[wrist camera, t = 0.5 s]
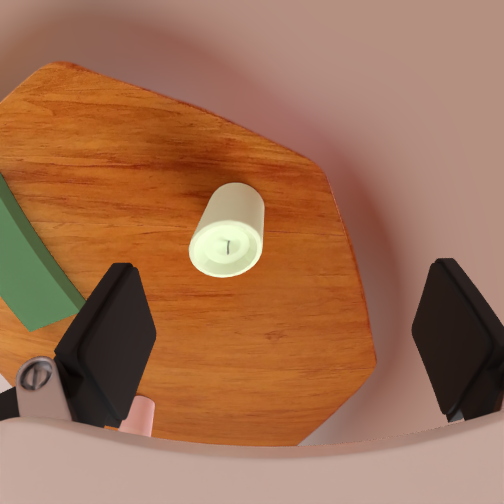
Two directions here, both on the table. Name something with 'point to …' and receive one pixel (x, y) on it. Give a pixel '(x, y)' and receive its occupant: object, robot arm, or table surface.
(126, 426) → the smoothie
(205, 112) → the table surface
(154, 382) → the table surface
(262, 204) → the candle
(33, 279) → the foam
